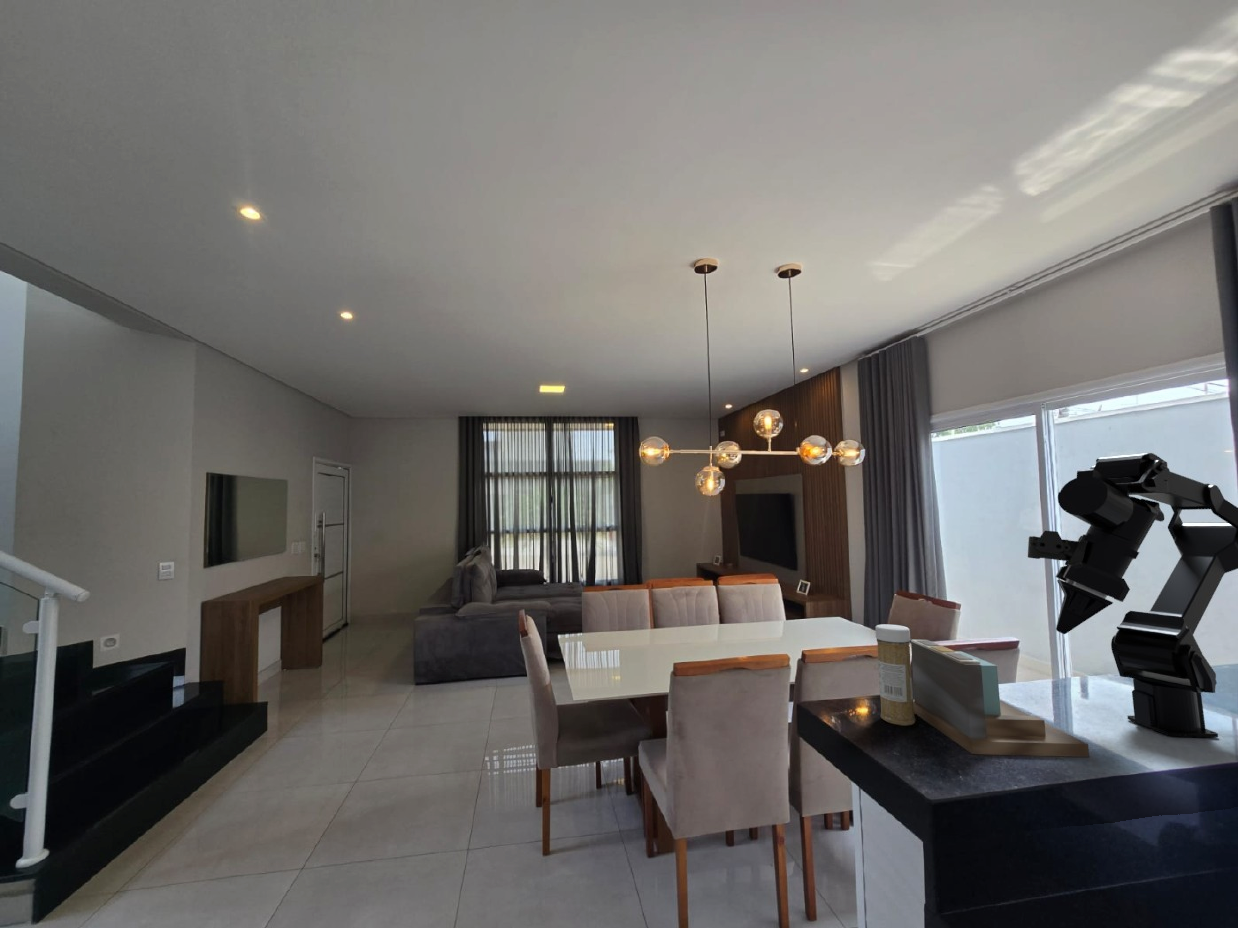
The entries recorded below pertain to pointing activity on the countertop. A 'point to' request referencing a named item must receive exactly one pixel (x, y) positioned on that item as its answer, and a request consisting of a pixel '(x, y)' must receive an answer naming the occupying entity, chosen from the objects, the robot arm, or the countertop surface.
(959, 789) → the countertop surface
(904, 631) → the sprinkles bottle
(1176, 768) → the countertop surface
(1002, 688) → the countertop surface
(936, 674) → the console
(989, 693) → the paddle button
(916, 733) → the countertop surface
